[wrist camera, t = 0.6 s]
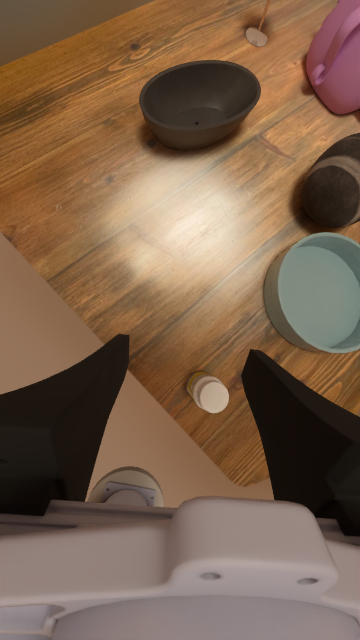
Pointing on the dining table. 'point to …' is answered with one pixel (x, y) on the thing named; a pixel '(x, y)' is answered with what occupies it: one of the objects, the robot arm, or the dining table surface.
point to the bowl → (198, 102)
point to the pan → (317, 293)
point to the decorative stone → (335, 185)
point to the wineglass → (258, 31)
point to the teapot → (337, 58)
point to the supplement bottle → (207, 392)
